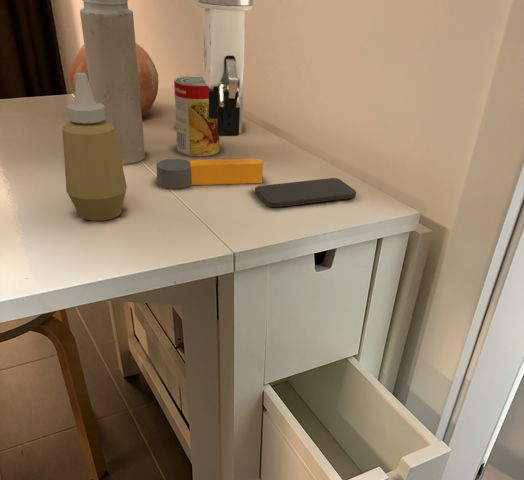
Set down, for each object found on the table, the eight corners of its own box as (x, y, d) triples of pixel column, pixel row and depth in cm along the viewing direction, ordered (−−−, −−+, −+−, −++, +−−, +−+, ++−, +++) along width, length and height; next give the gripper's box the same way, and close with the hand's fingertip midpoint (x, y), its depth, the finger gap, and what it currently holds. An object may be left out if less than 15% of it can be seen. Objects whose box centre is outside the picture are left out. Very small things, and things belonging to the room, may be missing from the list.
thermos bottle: (89, 158, 97) (61, -36, 80) (118, 147, 103) (97, -37, 86) (126, 167, 94) (105, -33, 78) (154, 154, 100) (139, -33, 83)
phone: (252, 186, 87) (337, 177, 92) (252, 191, 87) (336, 182, 92) (270, 203, 81) (359, 193, 86) (269, 209, 82) (358, 198, 87)
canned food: (228, 151, 104) (228, 81, 96) (194, 159, 99) (192, 86, 92) (202, 141, 108) (200, 73, 101) (169, 148, 104) (164, 78, 97)
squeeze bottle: (67, 205, 80) (44, 68, 69) (124, 200, 82) (109, 66, 72) (73, 228, 74) (48, 81, 63) (134, 221, 77) (120, 79, 66)
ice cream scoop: (158, 189, 87) (157, 169, 85) (156, 177, 91) (155, 157, 89) (264, 186, 90) (264, 166, 88) (257, 174, 94) (258, 155, 92)
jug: (70, 107, 124) (53, 3, 113) (149, 103, 130) (141, 3, 119) (82, 129, 111) (65, 13, 99) (170, 123, 117) (163, 13, 105)
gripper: (191, -11, 81) (193, 112, 91) (205, -1, 68) (205, 142, 78) (241, -8, 83) (237, 112, 93) (265, 2, 69) (257, 143, 79)
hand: (223, 126), depth 85 cm, fingers open, 9 cm apart
